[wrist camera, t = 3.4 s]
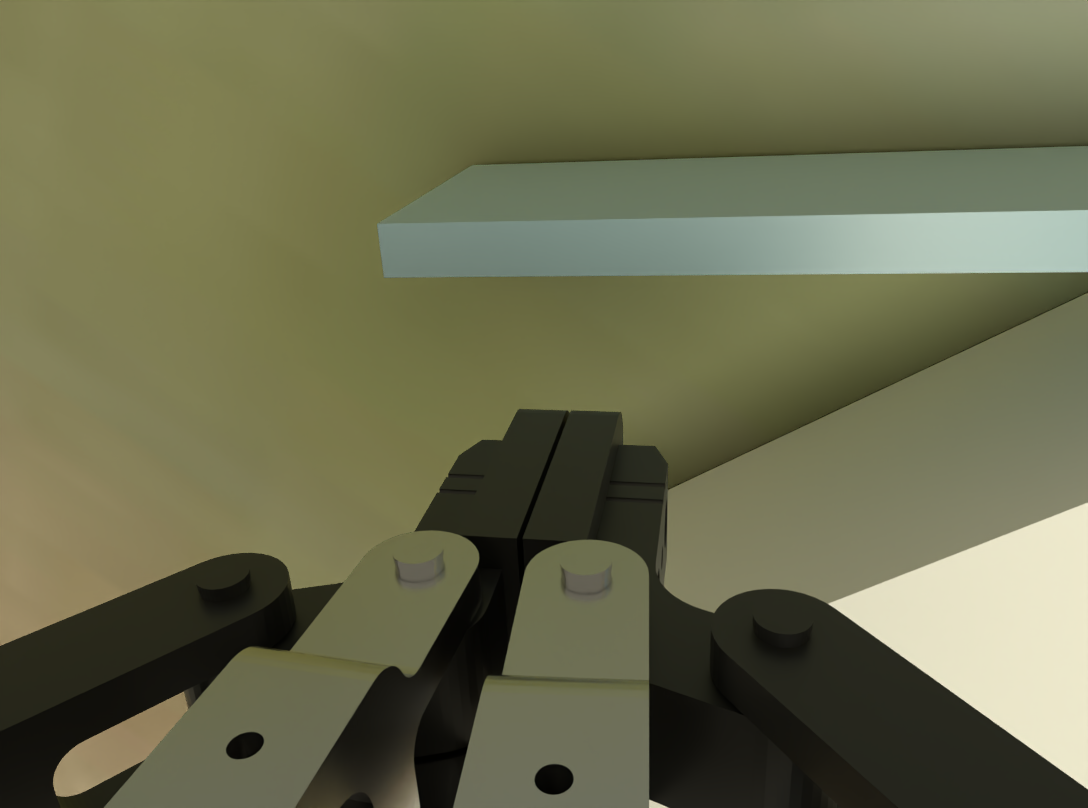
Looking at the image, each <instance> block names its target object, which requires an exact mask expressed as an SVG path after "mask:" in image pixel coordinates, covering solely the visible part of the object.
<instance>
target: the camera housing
mask: <svg viewBox="0 0 1088 808" xmlns="http://www.w3.org/2000/svg"><path fill="white" fill-rule="evenodd" d="M664 587H665V588H666V589H667V590H668V591H669V592H670V593H671V594H672V595H674V596H675V597H677V598H678V599H680V600H681V601H683V602H685V603H687V604H690V605H692V606H694V607H697V608H700V609H703V610H706V611H709V612H713V613H715V611H716V609H717V608H718V607H719V606H720V605H721V604H722V603H723V602H725V601H726V600H727V599H729V598H731V597H733V596H735V595H737V594H740V593H744V592H747V591H752V590H758V589H782V590H790V591H795V592H799V593H804V594H806V595H809V596H812V597H815V598H817V599H819V600H822V601H824V602H826V603H827V604H829V605H830V606H832V607H834V608H835V609H837V610H838V611H839V612H841V613H842V614H844V615H845V616H846V617H848V618H849V619H851V620H852V621H853V622H855V623H856V624H857V625H859V626H860V627H862V628H863V629H864V630H866V631H867V632H869V633H870V634H871V635H873V636H874V637H876V638H877V639H878V640H880V641H881V642H883V643H884V644H885V645H887V646H888V647H890V648H891V649H892V650H894V651H895V652H897V653H898V654H899V655H901V656H902V657H904V658H905V659H906V660H908V661H909V662H911V663H912V664H913V665H915V666H916V667H918V668H919V669H920V670H922V671H923V672H925V673H926V674H927V675H929V676H930V677H932V678H933V679H934V680H936V681H937V682H939V683H940V684H941V685H943V686H944V687H946V688H947V689H948V690H950V691H951V692H953V693H954V694H955V695H957V696H958V697H960V698H961V699H962V700H964V701H965V702H967V703H968V704H969V705H971V706H972V707H974V708H975V709H976V710H978V711H979V712H981V713H982V714H983V715H985V716H986V717H988V718H989V719H990V720H992V721H993V722H995V723H996V724H997V725H999V726H1000V727H1002V728H1003V729H1004V730H1006V731H1007V732H1008V733H1010V734H1011V735H1013V736H1014V737H1015V738H1017V739H1018V740H1020V741H1021V742H1022V743H1024V744H1025V745H1027V746H1028V747H1029V748H1031V749H1032V750H1034V751H1035V752H1036V753H1038V754H1039V755H1041V756H1042V757H1043V758H1045V759H1046V760H1048V761H1049V762H1050V763H1052V764H1053V765H1055V766H1056V767H1057V768H1059V769H1060V770H1062V771H1063V772H1064V773H1066V774H1067V775H1069V776H1070V777H1071V778H1073V779H1074V780H1076V781H1077V782H1078V783H1080V784H1081V785H1083V786H1084V787H1085V788H1087V789H1088V293H1086V294H1084V295H1082V296H1080V297H1078V298H1076V299H1074V300H1071V301H1069V302H1067V303H1065V304H1063V305H1061V306H1059V307H1056V308H1054V309H1052V310H1050V311H1048V312H1046V313H1044V314H1042V315H1039V316H1037V317H1035V318H1033V319H1031V320H1029V321H1027V322H1025V323H1022V324H1020V325H1018V326H1016V327H1014V328H1012V329H1010V330H1007V331H1005V332H1003V333H1001V334H999V335H997V336H995V337H993V338H990V339H988V340H986V341H984V342H982V343H980V344H978V345H976V346H973V347H971V348H969V349H967V350H965V351H963V352H961V353H959V354H956V355H954V356H952V357H950V358H948V359H946V360H944V361H941V362H939V363H937V364H935V365H933V366H931V367H929V368H927V369H924V370H922V371H920V372H918V373H916V374H914V375H912V376H910V377H907V378H905V379H903V380H901V381H899V382H897V383H895V384H892V385H890V386H888V387H886V388H884V389H882V390H880V391H878V392H875V393H873V394H871V395H869V396H867V397H865V398H863V399H861V400H858V401H856V402H854V403H852V404H850V405H848V406H846V407H844V408H841V409H839V410H837V411H835V412H833V413H831V414H829V415H826V416H824V417H822V418H820V419H818V420H816V421H814V422H812V423H809V424H807V425H805V426H803V427H801V428H799V429H797V430H795V431H792V432H790V433H788V434H786V435H784V436H782V437H780V438H777V439H775V440H773V441H771V442H769V443H767V444H765V445H763V446H760V447H758V448H756V449H754V450H752V451H750V452H748V453H746V454H743V455H741V456H739V457H737V458H735V459H733V460H731V461H728V462H726V463H724V464H722V465H720V466H718V467H716V468H714V469H711V470H709V471H707V472H705V473H703V474H701V475H699V476H697V477H694V478H692V479H690V480H688V481H686V482H684V483H682V484H680V485H677V486H675V487H673V488H671V489H669V490H668V503H667V560H666V570H665V577H664ZM649 808H668V807H666V806H663V805H661V804H659V803H656V802H654V801H651V800H649Z"/></svg>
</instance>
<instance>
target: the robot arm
mask: <svg viewBox="0 0 1088 808" xmlns="http://www.w3.org/2000/svg"><path fill="white" fill-rule="evenodd" d="M667 503H668V463H667V462H666V461H665V459H664V458H663V456H662V455H661V454H660V452H659V451H658V450H657V448H656V447H655V446H636V445H623V422H622V414H621V412H600V411H571V412H570V413H569V411H563V410H531V409H519V410H518V411H517V413H516V415H515V417H514V419H513V421H512V422H511V424H510V426H509V428H508V430H507V432H506V434H505V436H504V438H503V440H502V441H500V440H481V441H480V442H478V443H477V444H475V445H474V446H472V447H471V448H469V449H468V450H466V451H465V452H463V453H462V454H460V455H459V457H458V458H457V460H456V462H455V463H454V465H453V467H452V469H451V470H450V472H449V474H448V477H446V479H445V480H444V482H443V484H442V486H441V487H440V492H439V493H437V494H436V496H435V497H434V499H433V501H432V503H431V504H430V506H429V508H428V509H427V511H426V513H425V514H424V516H423V518H422V520H421V521H420V523H419V525H418V526H417V528H416V530H415V532H410V533H406V534H402V535H398V536H395V537H392V538H390V539H388V540H386V541H383V542H382V543H380V544H378V545H376V546H375V547H374V548H372V549H371V550H370V551H369V552H368V553H367V554H366V555H365V556H364V557H363V559H362V560H361V561H360V562H359V564H358V565H357V566H356V567H355V569H354V570H353V571H352V573H351V574H350V575H349V576H348V578H347V579H346V580H345V581H344V582H343V583H338V584H331V585H324V586H316V587H309V588H302V589H294V590H292V587H291V582H290V577H289V572H288V570H287V567H286V566H285V565H284V564H283V562H281V561H280V560H278V559H277V558H274V557H272V556H269V555H264V554H257V553H239V554H231V555H226V556H221V557H217V558H214V559H210V560H208V561H205V562H202V563H200V564H197V565H195V566H192V567H190V568H188V569H185V570H183V571H180V572H178V573H175V574H173V575H171V576H168V577H166V578H163V579H161V580H159V581H156V582H154V583H151V584H149V585H146V586H144V587H142V588H139V589H137V590H134V591H132V592H130V593H127V594H125V595H122V596H120V597H117V598H115V599H113V600H110V601H108V602H105V603H103V604H101V605H98V606H96V607H93V608H91V609H88V610H86V611H84V612H81V613H79V614H76V615H74V616H72V617H69V618H67V619H64V620H62V621H60V622H57V623H55V624H52V625H50V626H47V627H45V628H43V629H40V630H38V631H35V632H33V633H31V634H28V635H26V636H23V637H21V638H18V639H16V640H14V641H11V642H9V643H6V644H4V645H2V646H0V808H649V800H651V801H654V802H656V803H659V804H661V805H663V806H666V807H668V808H1088V789H1087V788H1085V787H1084V786H1083V785H1081V784H1080V783H1078V782H1077V781H1076V780H1074V779H1073V778H1071V777H1070V776H1069V775H1067V774H1066V773H1064V772H1063V771H1062V770H1060V769H1059V768H1057V767H1056V766H1055V765H1053V764H1052V763H1050V762H1049V761H1048V760H1046V759H1045V758H1043V757H1042V756H1041V755H1039V754H1038V753H1036V752H1035V751H1034V750H1032V749H1031V748H1029V747H1028V746H1027V745H1025V744H1024V743H1022V742H1021V741H1020V740H1018V739H1017V738H1015V737H1014V736H1013V735H1011V734H1010V733H1008V732H1007V731H1006V730H1004V729H1003V728H1002V727H1000V726H999V725H997V724H996V723H995V722H993V721H992V720H990V719H989V718H988V717H986V716H985V715H983V714H982V713H981V712H979V711H978V710H976V709H975V708H974V707H972V706H971V705H969V704H968V703H967V702H965V701H964V700H962V699H961V698H960V697H958V696H957V695H955V694H954V693H953V692H951V691H950V690H948V689H947V688H946V687H944V686H943V685H941V684H940V683H939V682H937V681H936V680H934V679H933V678H932V677H930V676H929V675H927V674H926V673H925V672H923V671H922V670H920V669H919V668H918V667H916V666H915V665H913V664H912V663H911V662H909V661H908V660H906V659H905V658H904V657H902V656H901V655H899V654H898V653H897V652H895V651H894V650H892V649H891V648H890V647H888V646H887V645H885V644H884V643H883V642H881V641H880V640H878V639H877V638H876V637H874V636H873V635H871V634H870V633H869V632H867V631H866V630H864V629H863V628H862V627H860V626H859V625H857V624H856V623H855V622H853V621H852V620H851V619H849V618H848V617H846V616H845V615H844V614H842V613H841V612H839V611H838V610H837V609H835V608H834V607H832V606H830V605H829V604H827V603H826V602H824V601H822V600H819V599H817V598H815V597H812V596H809V595H806V594H804V593H799V592H795V591H790V590H782V589H758V590H752V591H747V592H744V593H740V594H737V595H735V596H733V597H731V598H729V599H727V600H726V601H725V602H723V603H722V604H721V605H720V606H719V607H718V608H717V609H716V611H715V613H713V612H709V611H706V610H703V609H700V608H697V607H694V606H692V605H690V604H687V603H685V602H683V601H681V600H680V599H678V598H677V597H675V596H674V595H672V594H671V593H670V592H669V591H668V590H667V589H666V588H665V587H664V577H665V570H666V560H667ZM183 691H184V694H185V697H186V701H187V705H188V709H189V710H188V711H187V712H186V713H185V714H184V715H183V717H182V718H181V719H180V720H179V721H178V722H177V723H176V725H175V726H174V727H173V728H172V729H171V730H170V732H169V733H168V734H167V735H166V736H165V737H164V739H163V740H162V741H161V742H160V743H159V744H158V745H157V747H156V748H155V749H154V750H153V751H152V752H151V754H150V755H149V756H148V757H147V758H146V759H145V760H144V761H142V762H140V763H138V764H136V765H134V766H133V767H131V768H129V769H127V770H125V771H123V772H121V773H119V774H117V775H116V776H114V777H112V778H110V779H108V780H106V781H104V782H102V783H100V784H98V785H97V786H95V787H93V788H91V789H89V790H87V791H85V792H83V793H81V794H78V795H75V796H69V797H60V796H56V794H55V791H54V787H53V776H54V772H55V770H56V768H57V766H58V764H59V762H60V761H61V759H62V758H63V757H64V756H65V755H66V754H67V753H68V752H69V751H70V750H71V749H72V748H73V747H75V746H76V745H78V744H79V743H81V742H83V741H85V740H87V739H89V738H91V737H93V736H95V735H97V734H99V733H101V732H103V731H105V730H107V729H109V728H111V727H113V726H115V725H117V724H119V723H121V722H123V721H125V720H127V719H129V718H131V717H133V716H135V715H137V714H139V713H141V712H143V711H145V710H147V709H149V708H151V707H153V706H155V705H157V704H159V703H161V702H163V701H165V700H167V699H169V698H171V697H173V696H175V695H177V694H179V693H181V692H183Z"/></svg>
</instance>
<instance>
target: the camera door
mask: <svg viewBox="0 0 1088 808" xmlns="http://www.w3.org/2000/svg"><path fill="white" fill-rule="evenodd" d="M377 227H378V235H379V243H380V251H381V258H382V266H383V274H384V278H398V277H525V276H652V275H779V274H906V273H1033V272H1088V146H1071V147H1039V148H1007V149H975V150H943V151H911V152H878V153H846V154H814V155H782V156H750V157H718V158H686V159H654V160H622V161H590V162H558V163H526V164H494V165H472V166H470V167H468V168H467V169H465V170H463V171H462V172H460V173H459V174H457V175H455V176H454V177H452V178H450V179H449V180H447V181H446V182H444V183H442V184H441V185H439V186H438V187H436V188H434V189H433V190H431V191H429V192H428V193H426V194H425V195H423V196H421V197H420V198H418V199H416V200H415V201H413V202H412V203H410V204H408V205H407V206H405V207H403V208H402V209H400V210H399V211H397V212H395V213H394V214H392V215H391V216H389V217H387V218H386V219H384V220H382V221H381V222H379V223H378V224H377Z"/></svg>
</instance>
